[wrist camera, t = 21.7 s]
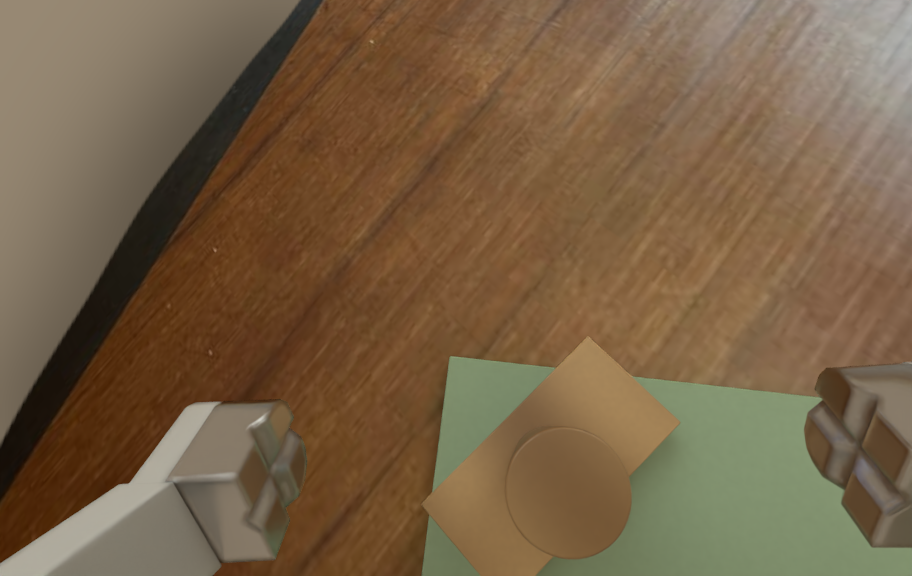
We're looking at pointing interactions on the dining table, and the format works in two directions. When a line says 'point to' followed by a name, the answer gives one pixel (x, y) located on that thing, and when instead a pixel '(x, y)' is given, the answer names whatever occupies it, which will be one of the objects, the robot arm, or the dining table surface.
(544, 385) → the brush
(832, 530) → the mat
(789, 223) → the dining table surface
